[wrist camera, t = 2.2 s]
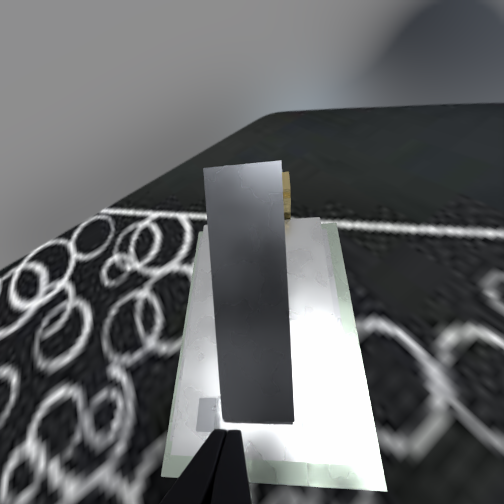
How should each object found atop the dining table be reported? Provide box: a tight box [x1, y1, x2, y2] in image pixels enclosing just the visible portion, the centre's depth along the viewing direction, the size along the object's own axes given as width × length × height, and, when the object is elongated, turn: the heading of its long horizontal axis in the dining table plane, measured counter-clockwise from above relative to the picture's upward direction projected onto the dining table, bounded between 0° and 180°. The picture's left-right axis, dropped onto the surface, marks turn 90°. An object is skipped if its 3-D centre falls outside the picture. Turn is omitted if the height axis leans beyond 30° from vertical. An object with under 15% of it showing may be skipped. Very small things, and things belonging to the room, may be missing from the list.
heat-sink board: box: [161, 172, 387, 491], centre depth 19 cm, size 21×15×9 cm
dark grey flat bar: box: [203, 161, 295, 425], centre depth 14 cm, size 14×4×1 cm
